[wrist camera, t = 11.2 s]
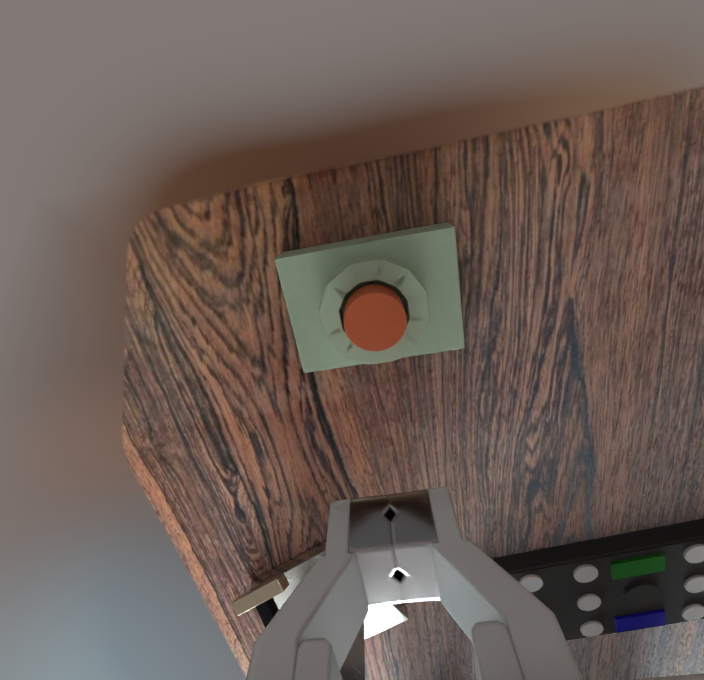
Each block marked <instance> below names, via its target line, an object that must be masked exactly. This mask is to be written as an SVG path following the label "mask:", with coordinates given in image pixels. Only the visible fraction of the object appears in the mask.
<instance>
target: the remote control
mask: <svg viewBox="0 0 704 680" xmlns="http://www.w3.org/2000/svg"><path fill="white" fill-rule="evenodd" d="M492 560H494V561H495V562H496V563H497V564H498V565H499V566H500V567H502V568H503V569H504V570H505V571H506V572H507V573H509V574H510V575H511V576H512V577H513V578H514V579H515V580H517V581H518V582H519V583H520V584H521V585H522V586H523V587H525V588H526V589H527V590H528V591H529V592H530V593H532V594H533V595H534V596H535V597H536V598H537V599H538V600H540V601H541V602H542V603H543V604H544V605H545V606H547V607H548V608H549V609H550V610H551V611H552V612H553V613H554V614H555V616H556V618H557V621H558V623H559V625H560V628H561V630H562V632H563V634H564V637H565V639H566V640H573V639H579V638H585V637H594V636H598V635H604V634H610V633H616V632H617V633H619V632H625V631H632V630H638V629H644V628H650V627H657V626H663V625H667V624H673V623H679V622H685V621H695V620H698V619H704V519H700V520H695V521H690V522H685V523H679V524H674V525H669V526H663V527H658V528H653V529H648V530H642V531H637V532H632V533H626V534H621V535H616V536H611V537H605V538H600V539H595V540H589V541H584V542H579V543H574V544H568V545H563V546H558V547H552V548H547V549H542V550H537V551H531V552H526V553H521V554H516V555H510V556H505V557H500V558H494V559H492Z"/></svg>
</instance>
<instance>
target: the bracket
mask: <svg viewBox="0 0 704 680" xmlns="http://www.w3.org/2000/svg"><path fill="white" fill-rule="evenodd" d="M325 551H326V540H325V541H323V542H321V543H320V544H318V545H316V546H314V547H312V548H310V549H309V550H307V551H305V552H303V553H301V554H300V555H298V556H296V557H294V558H292V559H291V560H289V561H287V562H285V563H283V564H281V565H280V566H278V567H276V568H274V569H272V570H271V571H269V572H267V573H265V574H263V575H262V576H260V577H258V578H256V579H254V580H252V583H251V586H250V590H251V589H253V588H255V587H257V586H259V585H261V584H262V583H264V582H266V581H268V580H270V579H272V578H274V577H275V576H277V575H279V574H281V573H284V574H285V576H286V578H287V580H288V582H289V586H288V587H287V589H286V590H285V591H284V592H282V593H281V594H279V595H277V596H275V597H273V599H274V601H275V603H276V605H277V607H278V609H280V608H281V607H282V605H283V604H284V603H285V601H286V600H287V599H288V597H289V596H290V595H291V593H292V592H293V591H294V590H295V588H296V587H297V586H298V584H299V583H300V582H301V580H302V579H303V578H304V576H305V575H306V574H307V572H308V571H309V570H310V568H311V567H312V566H313V565H314V563H315V562H316V561H317V559H318V558H319V557H323V556H325ZM250 590H249V591H250ZM406 620H408V612H407V607H406V606H405V605H404V604H403V603H398V604H391V605H384V606H376V607H369V611H368V613H367V615H366V617H365V619H364V622H363V624H362V626H361V628H360V630H359V632H358V634H357V636H356V638H355V640H354V642H353V645H352V647H351V649H350V651H349V653H348V655H347V657H346V659H345V661H344V663H343V665H342V667H341V670H340V673H341V676H342V679H343V680H365V653H364V639H367V638H369V637H371V636H373V635H375V634H377V633H380V632H382V631H384V630H386V629H388V628H391V627H393V626H395V625H397V624H399V623H401V622H404V621H406Z"/></svg>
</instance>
